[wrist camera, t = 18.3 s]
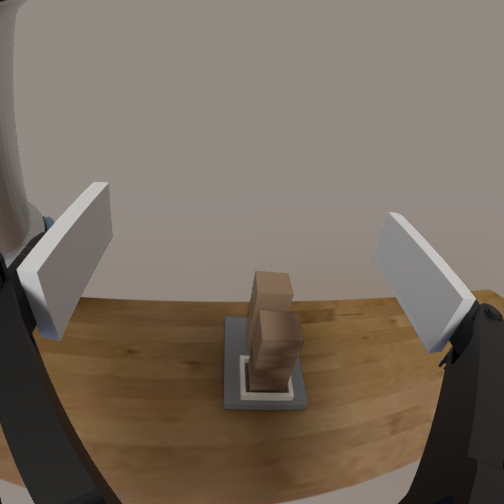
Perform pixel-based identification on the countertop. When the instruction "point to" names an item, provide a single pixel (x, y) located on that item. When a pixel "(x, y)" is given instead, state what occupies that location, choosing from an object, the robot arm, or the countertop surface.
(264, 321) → the pillar
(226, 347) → the baseplate
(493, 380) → the robot arm
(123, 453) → the countertop surface
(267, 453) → the countertop surface
